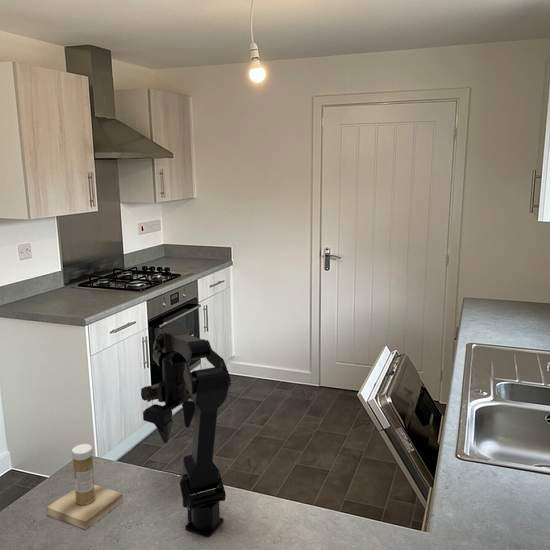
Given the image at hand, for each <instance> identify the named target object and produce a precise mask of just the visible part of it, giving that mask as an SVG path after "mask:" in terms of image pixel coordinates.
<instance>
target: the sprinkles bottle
mask: <svg viewBox="0 0 550 550" xmlns="http://www.w3.org/2000/svg"><path fill="white" fill-rule="evenodd" d="M93 455H94V450H93V446H92V445H91V444H88V443H82V444H81V443H80V444H77V445H75V446H74V447H73V448H72V449H71V458H72V463H73V481H74V489H75V493H76V503H77V504H79V505H87V504H90V503H91V502H93V501H94V500H95V493H94V484H95V476H94V475H95V473H94V472H95V471H94V464H93V462H94V461H93Z"/></svg>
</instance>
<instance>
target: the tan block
mask: <svg viewBox="0 0 550 550" xmlns="http://www.w3.org/2000/svg"><path fill="white" fill-rule="evenodd" d="M94 493H95V500H94V501H93V502H91V503H90V504H87V505H79V504H77V503H76V493H75V488H74V489H72V490H70V491H69V492H67V493H66V494H64V495H63V496H62V497H60V498H59V499H57V500H55V501H54V502H53V503H51V504H50V505H48V506H47V507H46V513H47V516H49V517H51V518H54V519H56V520H60V521H62V522H65V523H68V524H70V525H72V526H76V527H78V528H80V529H83V530H87V529H89V528H90V527H91V526H93V525H94V524H95V523H96V522H98V521H99V520H100V519H102V518H103V517H104V516H105V515H107V514H108V513H109V512H111V511H112V510H113V509H115V508H116V507H117V506H119V505H120V504H121V503H123V499H124V497H123V496H124V495H123V493H122V492H118V491H116V490H112V489H109V488H106V487H103V486H100V485H97V484H95V483H94Z"/></svg>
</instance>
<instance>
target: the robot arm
mask: <svg viewBox="0 0 550 550" xmlns="http://www.w3.org/2000/svg"><path fill="white" fill-rule="evenodd" d="M152 349H153V352H152V359H153V361H154V362H155V363H156V364H157V366H159V368H160V369H161V370H162V380H160V381H159V382H158V383H156V384H152V385H148V386H144V387H141V388H140V396H141V399H142V400H143V401H144V402H145V401H147V403H150V402H151V401H155V400H157V401H158V403H164V405H161V404H156V403H154V404H153V405H150V406H149V407H146V409H144V410H143V412H142V420H143V421H145V422H146V423H147V422H148V423H150V424H151V423H152V424H154V426H155V427H156V429H157V431H158V433H159V435H160V438H161V440H162V442H163V444H168V443H169V440H170V435H171V431H172V427H173V423H174V420H173V419H172V417H173V411H174V410H176V409H177V408H179V407H180V406H182V412H183V413H182V414H183V422H184V428H187V429H189V428H190V427H191V425H192V423H193V433H192V447H191V448H192V449H191V454H189V455H185V456H183V458H182V459H183V460H182V468H181V470H182V473H181V474H180V478H179V484H178V485H179V489H180V494H181V499H182V501H181V502H182V507H183V508H186V510H187V512H186V513H187V522H188V523H186V525H185V526H184V528H185V530H187V531H190V532H192V533H195V534H199V535H202V536H204V537H207V538H208V537H210V536H211V535H212V534H214V533H215V532H216V530H217V529H218V528H219V527H220V526H221V525H222V524H224V523H223V522H224V518H223V517H220V516H221V515H220V514H221V513H220V509H221V508H220V502H225V500H226V498H227V497H226V495H227V493H226V490H225V487H224V486H225V485H224V482H223V480H222V475H221V471H220V469H219V466H218V465H217V464H216V462H215V459H214V454H215V453H214V452H215V443H216V434H217V433H216V432H217V422H218V411H219V409H220V407H222V405H223V404H224V402H225V401H226V400H227V399H228V394H229V389H230V387H231V383H232V382H231V376H230V372H229V370H228V367H227V364H226V362H225V360H224V359H223V358H222V356H220V354H218V353H217V352H216V351H214V350H213V349H212V346H211V343H210V341H209V340H208V339H202V338H199V337H196V336H194V335H192V334H190V330H189V329H188V328H186V327H185V326H184V325H183V326H182V325H181V326H174V327H168V328H161V329H159V330H158V333H157V334H156V337H155V339H154V342H153V344H152ZM198 359H206V361H207V362H209V363H210V364H211V365H212V366H213V367H209V368H201V369H197V370H192V371H191V369H190V367H189V366H190V363H191V361H193V360H198ZM193 421H194V422H193Z"/></svg>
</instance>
